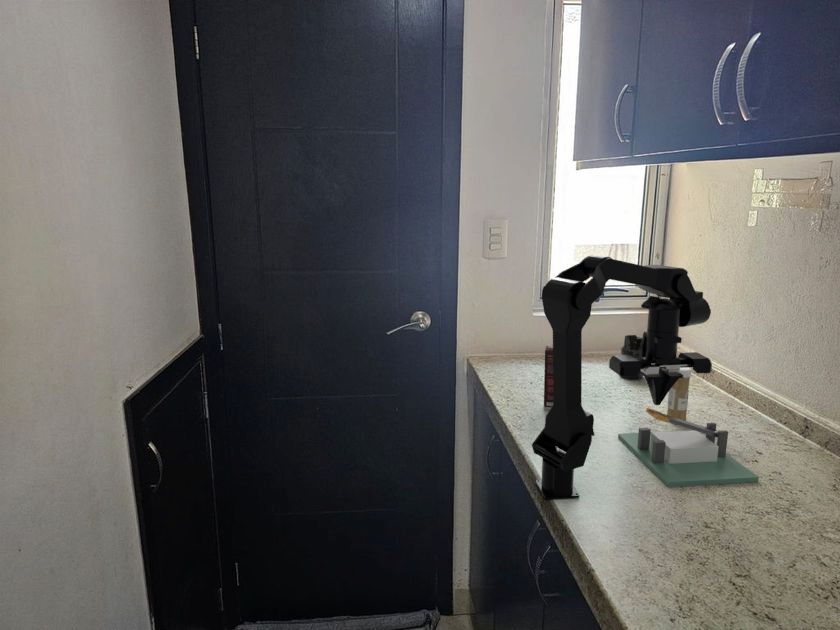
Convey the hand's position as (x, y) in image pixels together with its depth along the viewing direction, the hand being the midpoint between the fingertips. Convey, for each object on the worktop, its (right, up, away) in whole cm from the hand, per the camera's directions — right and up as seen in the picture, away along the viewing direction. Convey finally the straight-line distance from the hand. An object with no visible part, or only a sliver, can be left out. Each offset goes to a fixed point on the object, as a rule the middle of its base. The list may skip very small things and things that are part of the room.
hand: (656, 404), depth 116 cm
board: (+7, -12, +3) cm, 14 cm away
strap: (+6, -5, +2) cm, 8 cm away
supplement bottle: (+15, 0, +55) cm, 57 cm away
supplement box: (-12, -6, +31) cm, 34 cm away
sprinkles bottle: (+14, -8, +22) cm, 27 cm away
